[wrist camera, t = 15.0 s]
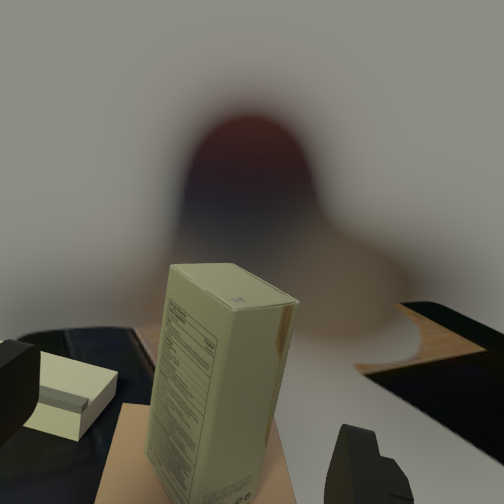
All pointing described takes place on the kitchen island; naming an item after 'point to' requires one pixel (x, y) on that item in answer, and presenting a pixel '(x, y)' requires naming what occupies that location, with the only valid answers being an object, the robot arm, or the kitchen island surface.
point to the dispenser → (70, 396)
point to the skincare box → (216, 382)
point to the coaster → (148, 484)
